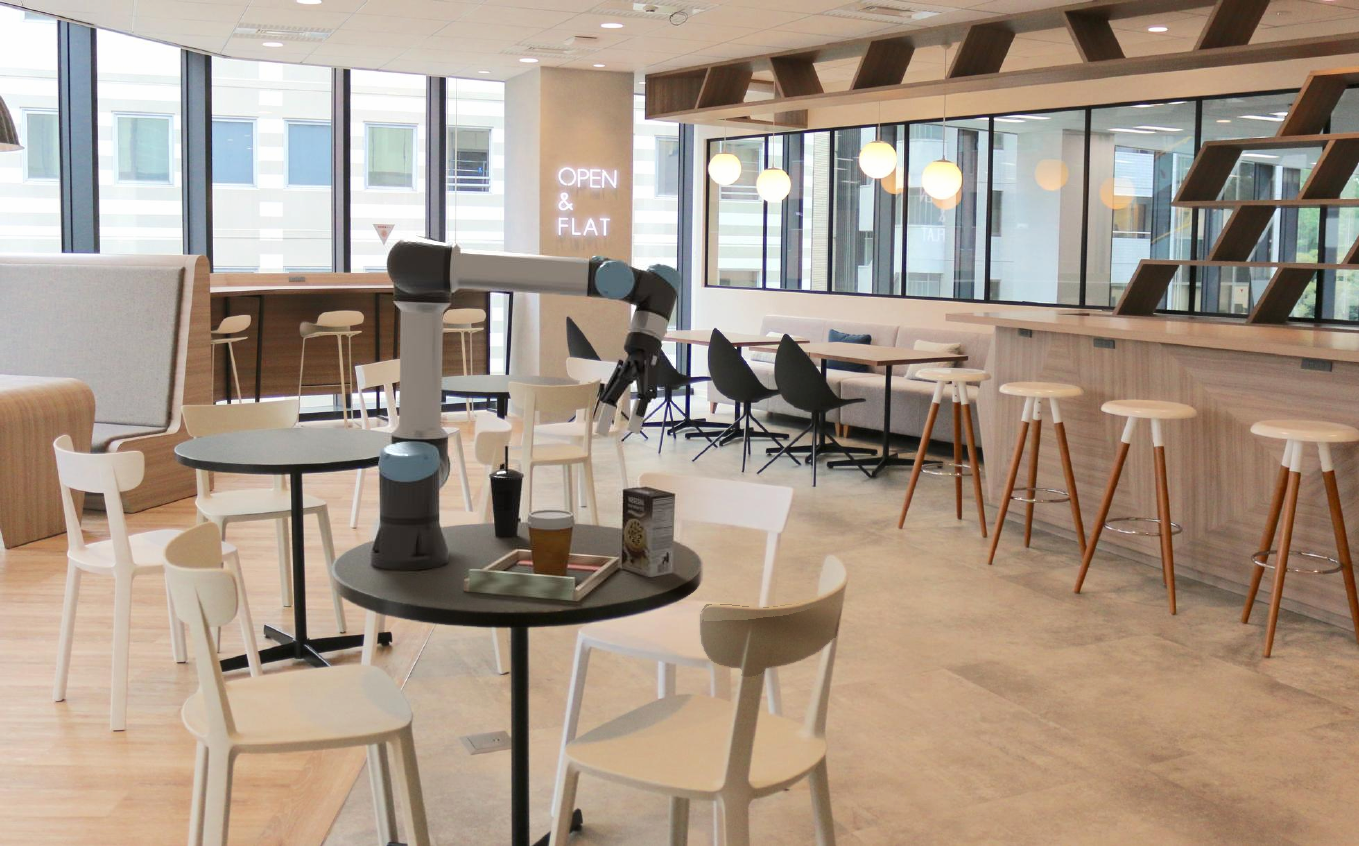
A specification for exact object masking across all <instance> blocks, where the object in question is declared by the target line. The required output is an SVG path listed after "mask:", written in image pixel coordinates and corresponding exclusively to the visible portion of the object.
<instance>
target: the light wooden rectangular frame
mask: <svg viewBox="0 0 1359 846" xmlns="http://www.w3.org/2000/svg"><path fill="white" fill-rule="evenodd" d="M523 559H526V560H532V553H531V549H530V550H529V549H517V548H516V549H514V550H513V551H512V550H511V551H510V552H508V553H507V554H506V555H504V556H502V557H500V558H499V559H497V560H495V561H493V562H492V563H490V564H489V565H487V566H485V567H484V568H482V569H479V568H477V569H476V568H470V569H468V577H466V578H465V579H464V580H463V592H470V593H482V594H492V595H505V596H506V595H507V596H517V597H525V598H527V597H529V598H531V597H532V598H538V599H539V598H541V599H549V600H561V601H574V602H579V601H580V600H581V599H583V598H584V597H585V596H586V595H588V594H589V593H590V592H591V591H592V590H594V589H595V588H596V587H597V586H598V585H600V584H601V583H602V582H603V581H605V579H607V578H608V577H609V576H611V574H614V572H615V571H617V570H618V569H619V568H620V557H619V556H617V557H616V556H607V555H606V556H605V555H596V554H595V555H593V554H583V553H582V554H581V553H569V560H568V564H569V563H576V564H588V565H601V566H603V567H601V568H600V569H599V570H598V571H594V573H593V574H591V575H590V576H589V577H587V578H585V580H584V581H582V582H581V583H580V584H579V585H577V586H576V577H574V576H552V575H540V574H534V573H526V572H525V573H524V572H516V571H515V572H514V571H513V572H512V571H504V570H505V569H507V568H508V567H509V568H510V566H512V565H514V564H515V563H516V562H517V563H518V562H519V561H521V560H523Z"/></svg>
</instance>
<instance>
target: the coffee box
mask: <svg viewBox="0 0 1359 846" xmlns="http://www.w3.org/2000/svg"><path fill="white" fill-rule="evenodd" d="M675 504H676V493H674V492H673V493H672V492H669V491H665V490H661V489H656V488H654V487H648V486H641V487H629V488H623V489H622V515H621V516H622V519H621V520H622V521H621V522H622V523H621V524H622V526H621V529H622V530H621V531H622V533H621V569H623V570H627V571H630V572H632V573H635V574H639V575H642V576H645V577H648V578H654V577H658V576H664V575H669V574H673V573H674V572H673V571H674V568H673V567H674V566H673V565H674V539H675V536H674V535H675V533H674V532H675V512H676V511H675V509H676V508H675V507H676V505H675Z"/></svg>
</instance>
